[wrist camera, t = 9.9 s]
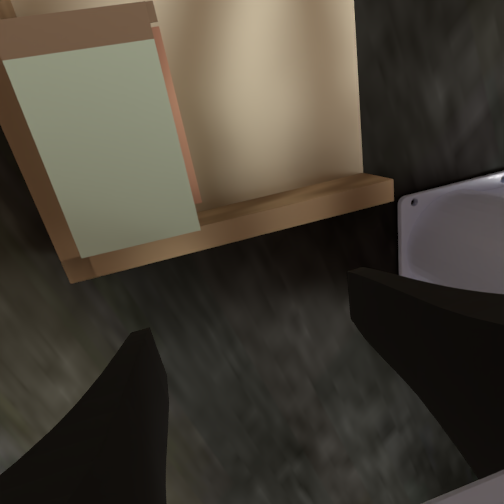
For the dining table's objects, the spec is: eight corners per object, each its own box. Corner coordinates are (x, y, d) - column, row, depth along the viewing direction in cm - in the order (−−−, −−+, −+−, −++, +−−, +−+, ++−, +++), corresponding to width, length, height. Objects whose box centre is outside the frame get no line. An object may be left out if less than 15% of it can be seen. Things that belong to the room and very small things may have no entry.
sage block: (191, 200, 18) (200, 230, 13) (108, 219, 18) (81, 258, 12) (152, 46, 16) (145, 1, 10) (52, 61, 15) (-14, 21, 10)
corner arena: (338, -180, 15) (384, -264, 12) (360, 190, 21) (394, 201, 18) (-80, -154, 12) (-166, -252, 9) (87, 257, 19) (70, 283, 16)
